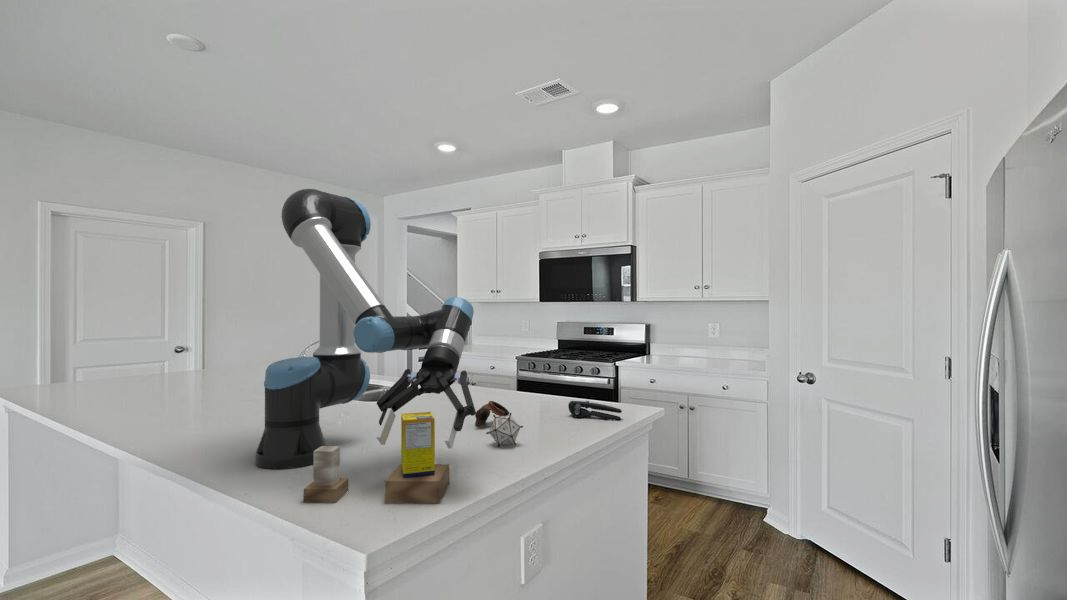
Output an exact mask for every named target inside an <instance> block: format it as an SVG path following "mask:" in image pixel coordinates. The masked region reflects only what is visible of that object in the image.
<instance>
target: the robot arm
mask: <svg viewBox="0 0 1067 600" xmlns="http://www.w3.org/2000/svg"><path fill="white" fill-rule="evenodd" d="M280 217H281V222H282V225H283V228H284V232H285V233H286V234H287V236H288V237H289V239H290V241H291V242H292V243H293V245H294V246H295V247H298V248H302V250H303V251H304V253H305V254H306V256H307V257H308V258H309V260H310V261H311V263H312V265H314V267H315V268H316V270H317V272H318V273H319V346H318V348H316V349H315V350H314V352H313V353H312V356H298V357H291V358H290V357H289V358H286V359H285V358H284V359H281V360H277V361H275V362H273V363H270V364H269V365H268V366H267V368H265V376H264V382H263V386H264V430H263V432H262V436H261V438H260V442H259V444H258V446H257V449H256V452H255V465H256V466H257V467H260V468H264V469H271V470H272V469H273V470H274V469H275V470H282V469H292V468H299V467H305V466H309V465H314V451H315V450H316V449H318V448H319V447H321V446H328V445H327V442H326V440H325V435H324V433H323V431H322V428H321V425H320V409H323V408H326V407H331V406H337V405H344V404H349V403H350V402H352V401H355V400H358V399H359V398H361V397H362V396H363V395H364V394H365V392H366V391H367V389H368V387H369V384H370V379H371V371H370V368H369V366H368V365H367V362H366V360H364V359H363V358H362V357H361V356H362V355H361V354H362V352H364V353H370V354H371V353H372V354H373V353H375V354H376V353H378V354H382V353H386V352H392V351H397V350H399V351H412V350H417V349H418V350H419V349H420V348H424V347H427V348H426V352H425V354H424V357H423V359H422V362H421V366H420V369H419V370H418V371H417V372H413V371H411V370H410V369H409V368H407V369H405V370H404V371H403V373H402V375H401V376H400V378H399V379H398V380H397V381H396V382H395V383H394V384H393V385H392V386H391V387H390V388H389V389H388V390H387V391H386V392H385V393H384V394H382V396H381V397H380V398H379V399H378V400H377V401H376V406H377V407H378V408H379V410H380V411H381V415H380V417H379V420H378V424H379V426H380V427H379V429H378V431H377V432H378V433H377V435H376V440H378V442H379V444H380V445H382V446H386V443H387V440H388V437H389V434H390V433H391V430H392V426H393V425H394V422H395V419H396V416H397V415H396V411H399V410H400V409H401V408H402V407H404V406H405V405H407V404H408V403H409V402H410V401H412V400H413V399H415V398H416V397H417V396H421V395H423V394H424V393H425V394H437V395H438V394H439V395H440V394H441V393H445V395H446V397H447V398H448V400H449V401H450V402H451V404H452V405H453V407H454V409H455V410H453V411H452V414H451V417H450V419H449V420H450V421H449V424H448V427H447V431H446V435H445V439H444V443H445V445H446V447H447V448H448V449H453V446H454V442H455V439H456V435H457V432H461V431H462V429H463V427H464V423H465V418H466V417H468V416H475V414H476V412H477V410H476V408H475V405H474V400H473V398H472V395H471V391H470V387H469V382H470V378H469V376H468V373H467V371H466V370H464V369H463V370H461V372H460V373H457V370H458V367H459V365H460V360H461V357H462V355H463V351H464V347H465V344H466V340H467V336H468V335H469V331H470V328H471V326H472V324H473V316H474V314H475V313H474V312H475V311H474V307H473V305H472V304H471V303H470V301H468V300H467V299H465V298H463V297H459V296H452V297H449V298H447V299H446V300H445V301H444V302H443V304H442V305H441V309H439V310H435V311H431V312H427V313H424V314H419V315H413V316H411V315H409V316H407V315H403V316H394V315H393V314H391V311H390V310H389V309H388V307H387V306H386V305H385V304H384V303H383V301H382V300H381V298H380V296H379V295H378V294H377V293H376V291H375V290H374V289H373V287H372V285H371V284H370V283H369V282H368V279H367V278H366V277H365V276H364V275H363V273H362V272H361V270H360V269H359V267H358V266H357V264H356V255H357V253H358V252H359V251H361V250H362V243H363V242H365V240H366V239H367V236H369V234H370V232H371V223H372V222H371V217H370V214H369V212H368V209H367V208H366V207H364V205H363V204H362V203H361V202H359V201H357V200H354V199H351V198H350V197H348V196H342V195H337V194H333V193H329V192H326V191H322V190H320V189H315V188H304V189H300V190H296V191H295V192H293V193H291V194H290V195H289V196H288V197H287V199H286V200H285V202H284V203H283V205H282V208H281V216H280ZM361 351H362V352H361ZM456 381H457V383H458V384H459V385H460V387H461V390H462V394H463V397H464V400H465V404H466V406H464V404H462V403H461V401H460V400H459V398H458V396H457V395H456V394H455V392H454V390H453V389H452V388H451V386H452V385H453V384H454V383H456ZM419 386H420V387H419Z"/></svg>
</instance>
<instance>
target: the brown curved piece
mask: <svg viewBox="0 0 1067 600" xmlns="http://www.w3.org/2000/svg"><path fill="white" fill-rule="evenodd" d="M491 413H492V414H493V415H495V416H497V417H499V416H508V415H509V414H510V411H509V410H508V409H507V408H506V407H505V406H504V405H502V404H500V403H498V402H496V401H494V400H489V401H488V403H486V404H484V405H482V406H481V407H480V408H479V409H477V410H476V414H475V415H474V417H475V423H474V425H475V426H476V427H477V428H478V427H479V425H480V426H486V424H487V420H488V418H489V417H490V415H491Z"/></svg>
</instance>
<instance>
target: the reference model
mask: <svg viewBox="0 0 1067 600" xmlns="http://www.w3.org/2000/svg"><path fill="white" fill-rule="evenodd" d="M340 451H341V447H340V446H339V445H327V446H321V447H319V448H318V449H316V450H315V451H314V463H313V464H312V465H313V466H312V467H313V471H312V473H313V474H312V475H313V476H312V477H313V481H312V482H310V483H309V484H308V485H306V486H305V487H304V488H303V496H302V497H303V502H302V503H316V504H317V503H318V504H319V503H326V504H330V503H334V504H335V503H337V502H338V501H340V499H341V498H342V497H344V496H345V495H346V494H347V493H348V492H349V483H350V482H349V480H350V479H349V477H341V476H340V475H341V469H340V468H341V465H340V464H341V463H340V462H341V461H340V460H341V457H340V456H341V454H340ZM347 491H348V492H347ZM346 492H347V493H346ZM345 493H346V494H345ZM344 494H345V495H344ZM343 495H344V496H343Z"/></svg>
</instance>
